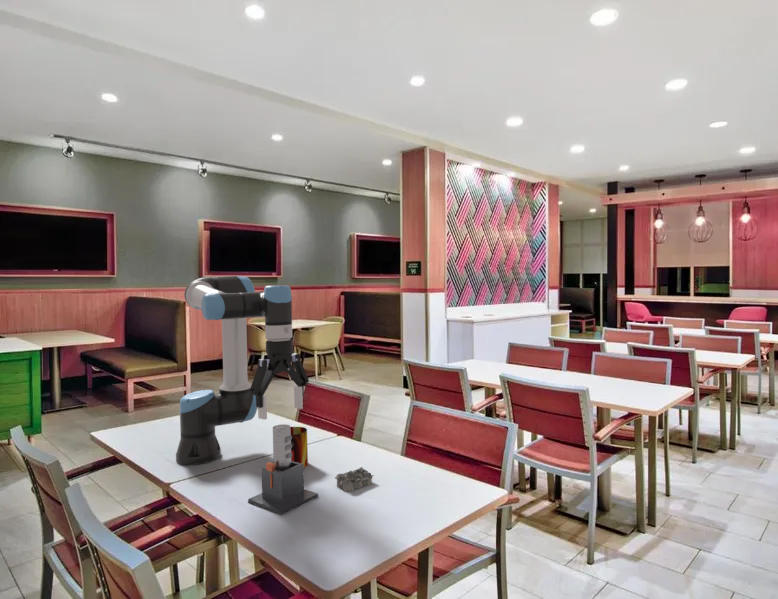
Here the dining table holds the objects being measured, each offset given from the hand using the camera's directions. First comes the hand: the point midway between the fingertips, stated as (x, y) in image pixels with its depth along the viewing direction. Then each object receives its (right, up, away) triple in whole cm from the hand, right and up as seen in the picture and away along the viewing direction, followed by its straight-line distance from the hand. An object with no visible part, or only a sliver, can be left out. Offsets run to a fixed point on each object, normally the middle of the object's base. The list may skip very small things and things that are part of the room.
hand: (281, 413), depth 150 cm
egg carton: (+20, -25, +12) cm, 34 cm away
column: (0, -24, +1) cm, 24 cm away
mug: (0, -24, +27) cm, 36 cm away
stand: (0, -25, +1) cm, 25 cm away
